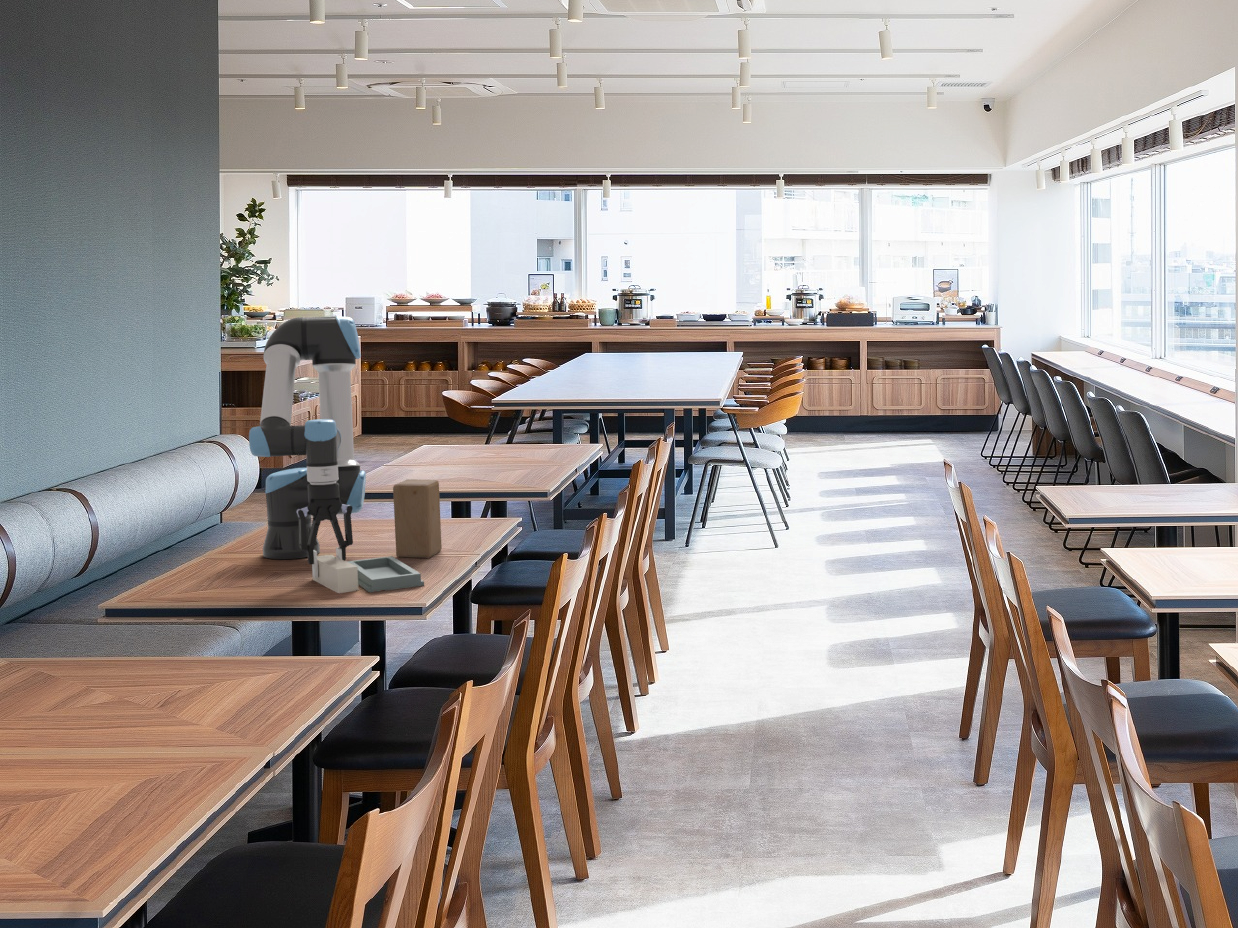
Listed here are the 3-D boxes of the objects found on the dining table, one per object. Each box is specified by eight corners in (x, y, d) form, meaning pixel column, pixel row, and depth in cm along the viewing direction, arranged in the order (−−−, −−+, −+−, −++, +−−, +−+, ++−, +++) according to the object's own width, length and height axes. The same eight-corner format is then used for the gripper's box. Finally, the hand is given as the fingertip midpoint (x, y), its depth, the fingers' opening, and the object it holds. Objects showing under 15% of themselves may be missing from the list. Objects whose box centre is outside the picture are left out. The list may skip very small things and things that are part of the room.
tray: (343, 573, 316) (343, 561, 316) (395, 567, 322) (394, 555, 322) (369, 592, 295) (368, 580, 295) (424, 585, 301) (423, 573, 301)
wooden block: (430, 558, 332) (427, 484, 329) (394, 558, 334) (391, 484, 331) (443, 551, 341) (439, 479, 339) (408, 550, 343) (405, 478, 341)
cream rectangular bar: (312, 580, 310) (311, 556, 309) (332, 577, 313) (331, 554, 312) (338, 593, 295) (337, 569, 294) (358, 591, 298) (357, 566, 297)
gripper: (288, 487, 298) (293, 582, 300) (364, 481, 306) (368, 573, 309) (281, 483, 304) (286, 576, 307) (356, 478, 313) (360, 568, 315)
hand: (327, 575), depth 308 cm, fingers closed on cream rectangular bar, 5 cm apart
